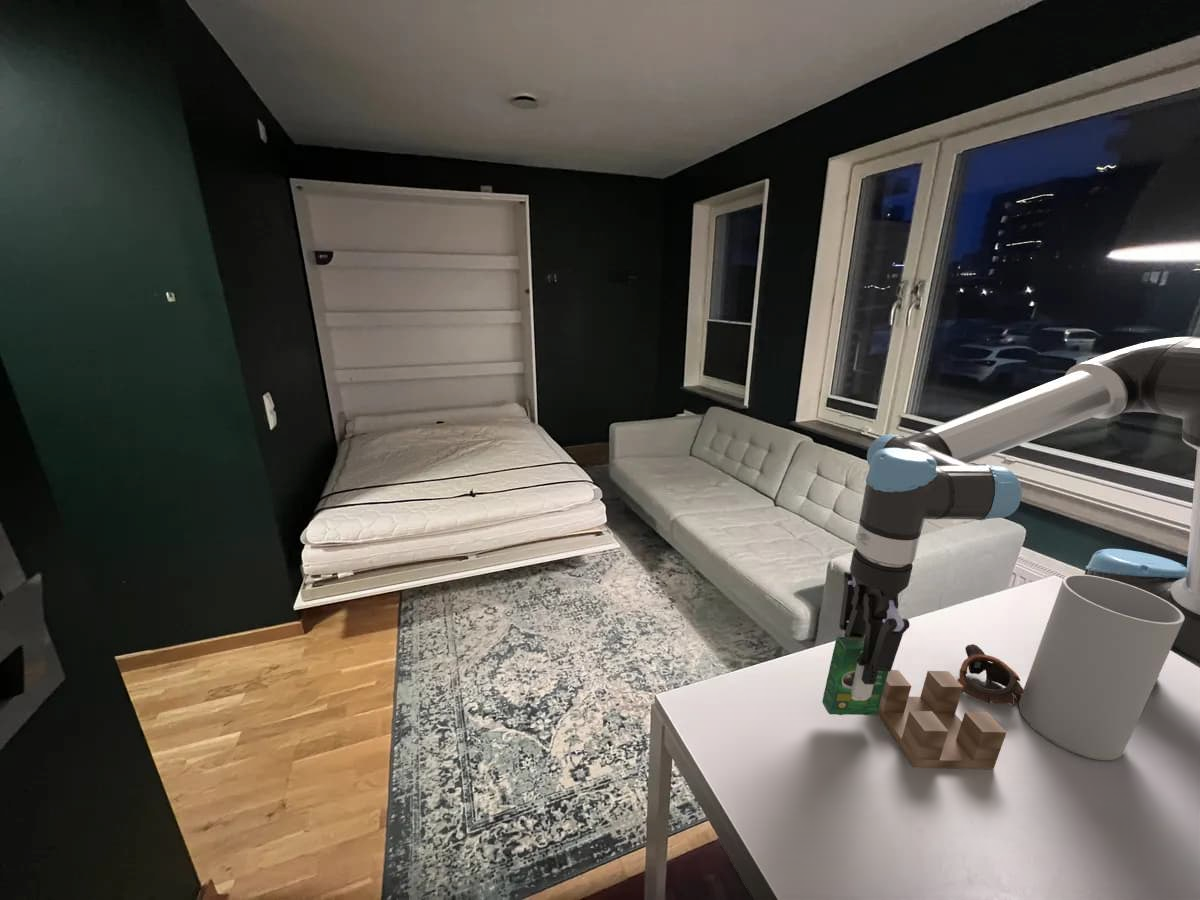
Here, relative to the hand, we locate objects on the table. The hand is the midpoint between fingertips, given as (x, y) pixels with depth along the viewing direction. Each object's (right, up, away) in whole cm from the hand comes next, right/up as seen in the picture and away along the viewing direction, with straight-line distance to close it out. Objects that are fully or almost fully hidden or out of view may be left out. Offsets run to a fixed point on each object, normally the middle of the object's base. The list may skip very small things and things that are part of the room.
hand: (854, 686), depth 75 cm
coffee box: (0, -5, +1) cm, 5 cm away
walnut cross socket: (+12, -8, +1) cm, 15 cm away
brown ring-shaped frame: (+29, -6, +10) cm, 31 cm away
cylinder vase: (+36, -8, +3) cm, 38 cm away
